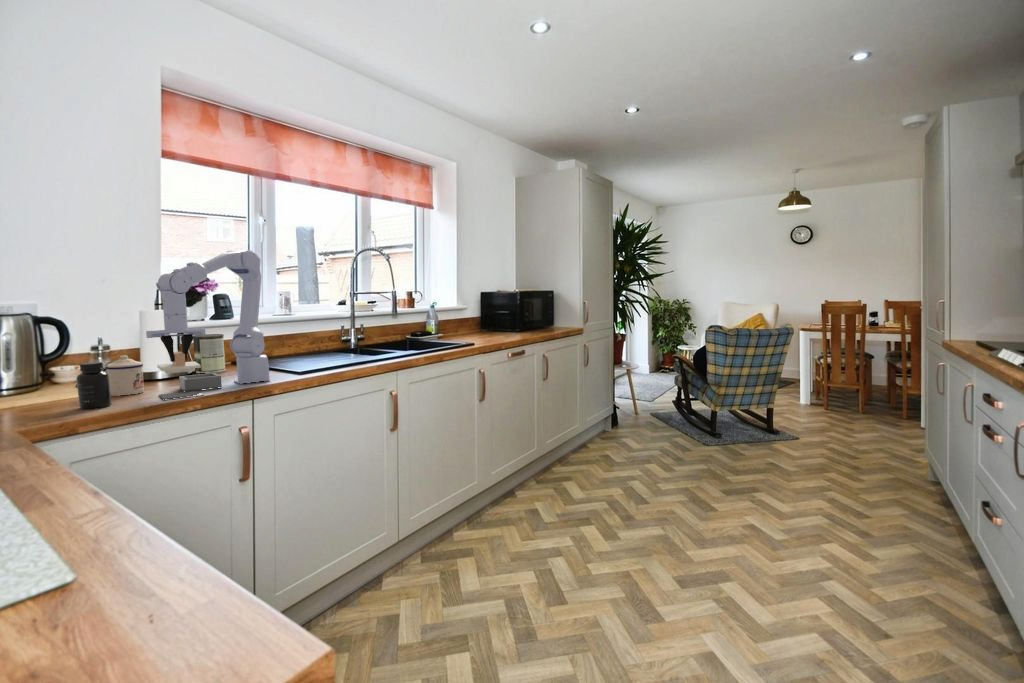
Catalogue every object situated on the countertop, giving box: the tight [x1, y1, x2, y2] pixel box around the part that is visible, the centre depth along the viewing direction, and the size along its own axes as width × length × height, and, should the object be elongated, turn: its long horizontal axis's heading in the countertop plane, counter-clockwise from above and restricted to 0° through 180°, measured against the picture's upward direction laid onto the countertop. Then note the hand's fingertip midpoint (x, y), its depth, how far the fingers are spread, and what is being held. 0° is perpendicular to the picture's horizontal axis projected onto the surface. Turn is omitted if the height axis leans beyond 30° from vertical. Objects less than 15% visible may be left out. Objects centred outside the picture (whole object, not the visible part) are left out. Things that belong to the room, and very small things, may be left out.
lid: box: [157, 351, 201, 374], centre depth 154 cm, size 10×8×5 cm
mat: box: [158, 390, 202, 401], centre depth 155 cm, size 10×9×1 cm
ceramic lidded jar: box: [105, 354, 145, 397], centre depth 160 cm, size 12×9×12 cm
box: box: [178, 373, 223, 392], centre depth 166 cm, size 10×8×4 cm
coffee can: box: [192, 333, 226, 374], centre depth 201 cm, size 10×10×14 cm
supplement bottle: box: [76, 361, 112, 410], centre depth 141 cm, size 7×7×12 cm
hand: (178, 360), depth 154 cm, fingers closed on lid, 2 cm apart
